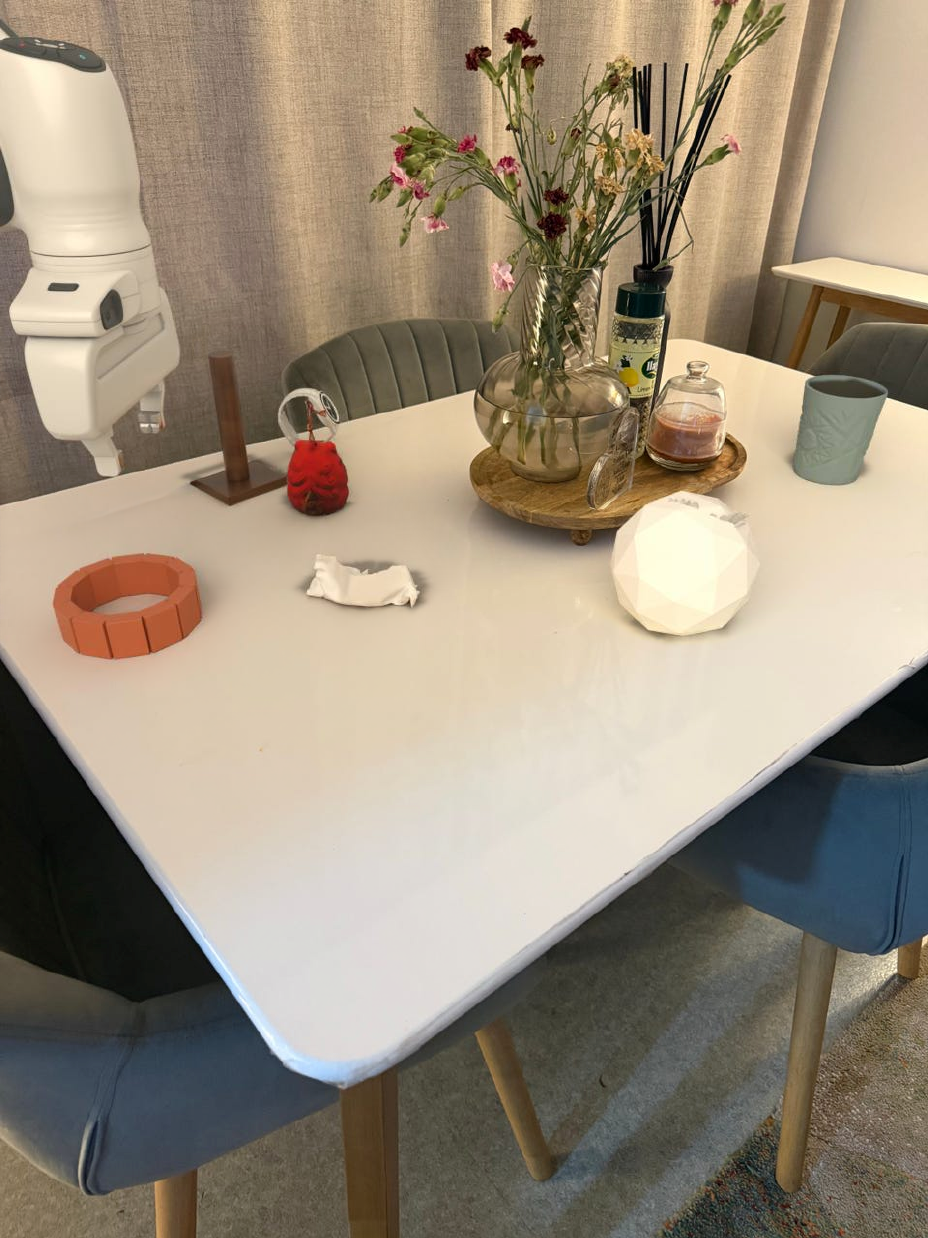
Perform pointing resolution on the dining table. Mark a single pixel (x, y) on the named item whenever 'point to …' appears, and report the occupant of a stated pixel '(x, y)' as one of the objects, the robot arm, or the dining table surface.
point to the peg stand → (234, 442)
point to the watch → (319, 403)
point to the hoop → (133, 628)
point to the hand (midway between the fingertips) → (134, 450)
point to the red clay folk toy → (316, 474)
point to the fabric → (362, 584)
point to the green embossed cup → (836, 427)
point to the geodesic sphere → (684, 564)
